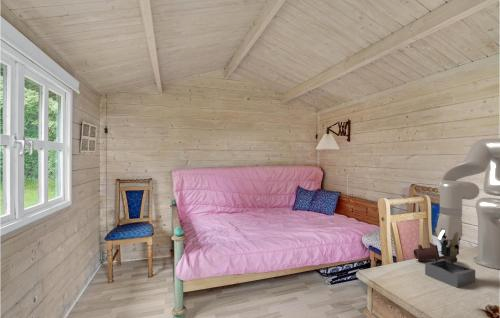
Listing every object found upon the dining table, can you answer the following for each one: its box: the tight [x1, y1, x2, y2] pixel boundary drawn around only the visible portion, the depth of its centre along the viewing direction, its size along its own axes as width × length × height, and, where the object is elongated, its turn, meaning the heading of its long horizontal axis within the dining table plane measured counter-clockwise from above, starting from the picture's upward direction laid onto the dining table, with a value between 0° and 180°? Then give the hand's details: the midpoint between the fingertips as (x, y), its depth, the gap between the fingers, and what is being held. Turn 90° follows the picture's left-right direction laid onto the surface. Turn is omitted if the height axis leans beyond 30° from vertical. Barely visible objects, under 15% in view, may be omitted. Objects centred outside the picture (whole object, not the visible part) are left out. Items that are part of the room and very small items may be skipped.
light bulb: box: [444, 232, 458, 265], centre depth 110 cm, size 6×6×15 cm
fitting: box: [424, 259, 476, 289], centre depth 110 cm, size 12×12×5 cm
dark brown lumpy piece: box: [413, 240, 458, 263], centre depth 126 cm, size 6×17×10 cm, turn 78°
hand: (449, 254), depth 110 cm, fingers closed on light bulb, 5 cm apart
